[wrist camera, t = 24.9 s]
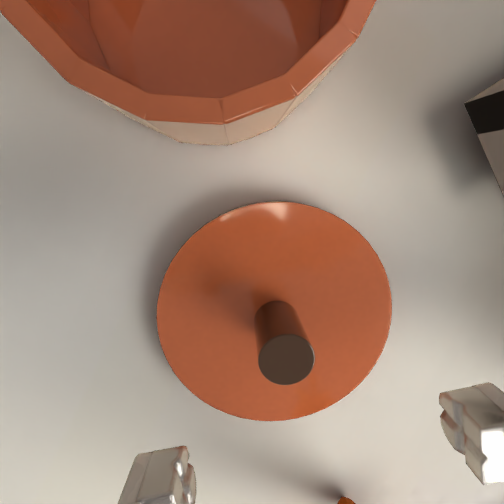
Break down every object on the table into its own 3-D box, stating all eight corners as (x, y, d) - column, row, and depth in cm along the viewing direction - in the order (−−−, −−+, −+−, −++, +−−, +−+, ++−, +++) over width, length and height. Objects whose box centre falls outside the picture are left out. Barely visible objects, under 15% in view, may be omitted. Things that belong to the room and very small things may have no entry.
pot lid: (128, 363, 19) (90, 428, 14) (216, 158, 17) (207, 149, 12) (319, 434, 21) (344, 514, 16) (424, 259, 19) (493, 289, 14)
